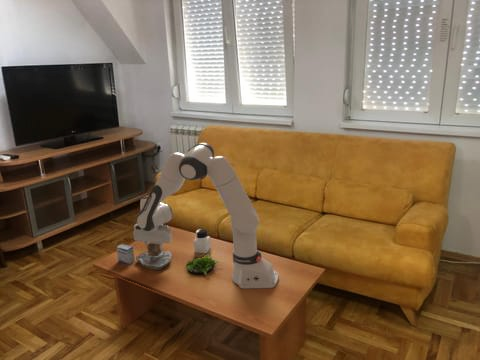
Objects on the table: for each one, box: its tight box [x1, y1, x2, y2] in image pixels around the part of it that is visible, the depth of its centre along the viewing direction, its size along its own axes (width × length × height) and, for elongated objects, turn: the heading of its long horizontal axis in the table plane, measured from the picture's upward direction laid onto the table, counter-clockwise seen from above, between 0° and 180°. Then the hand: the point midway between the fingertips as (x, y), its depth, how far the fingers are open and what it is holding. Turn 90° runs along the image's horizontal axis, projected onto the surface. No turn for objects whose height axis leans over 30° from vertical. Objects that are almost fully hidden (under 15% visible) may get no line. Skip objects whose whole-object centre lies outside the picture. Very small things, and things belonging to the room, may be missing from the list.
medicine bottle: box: [193, 228, 212, 254], centre depth 228 cm, size 7×7×12 cm
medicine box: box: [116, 243, 135, 265], centre depth 221 cm, size 8×4×9 cm, turn 62°
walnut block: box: [146, 242, 161, 256], centre depth 218 cm, size 5×5×6 cm
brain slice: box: [135, 248, 173, 271], centre depth 220 cm, size 20×17×3 cm
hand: (154, 248), depth 218 cm, fingers open, 5 cm apart
